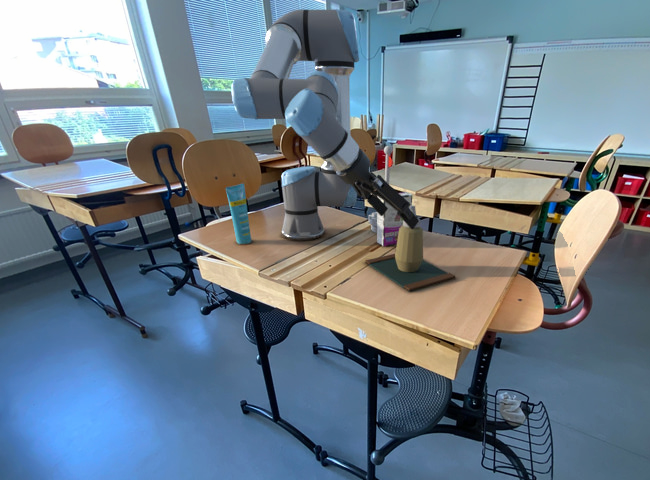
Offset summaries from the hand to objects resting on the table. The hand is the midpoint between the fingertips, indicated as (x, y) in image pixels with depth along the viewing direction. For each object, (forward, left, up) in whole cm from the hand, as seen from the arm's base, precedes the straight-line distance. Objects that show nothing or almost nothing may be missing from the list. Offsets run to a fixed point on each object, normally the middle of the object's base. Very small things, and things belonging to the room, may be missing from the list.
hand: (398, 218), depth 88 cm
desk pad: (0, +4, -16) cm, 16 cm away
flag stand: (-36, +20, -16) cm, 44 cm away
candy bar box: (-22, +14, -16) cm, 31 cm away
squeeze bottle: (0, +4, -15) cm, 16 cm away
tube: (-48, -31, -16) cm, 59 cm away
